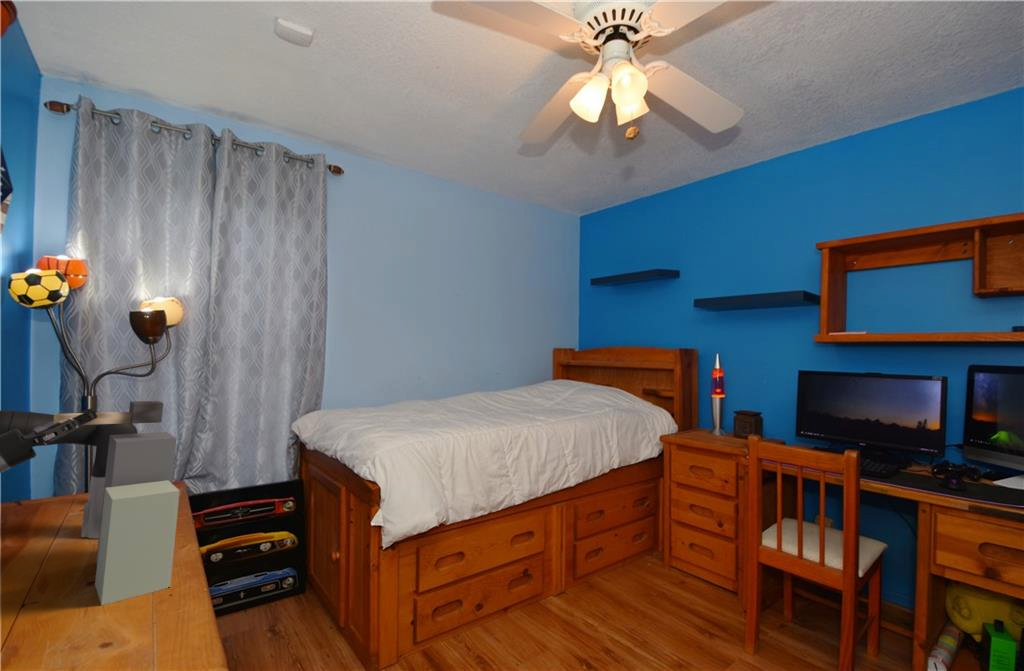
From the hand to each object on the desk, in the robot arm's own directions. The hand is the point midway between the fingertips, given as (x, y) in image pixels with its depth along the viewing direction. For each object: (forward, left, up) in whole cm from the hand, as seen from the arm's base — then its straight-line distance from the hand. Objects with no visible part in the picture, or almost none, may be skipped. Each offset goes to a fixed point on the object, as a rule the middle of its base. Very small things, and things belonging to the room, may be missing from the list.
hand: (94, 412), depth 113 cm
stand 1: (+9, +5, -39) cm, 40 cm away
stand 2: (+15, -9, -39) cm, 42 cm away
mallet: (+3, +1, -3) cm, 4 cm away
